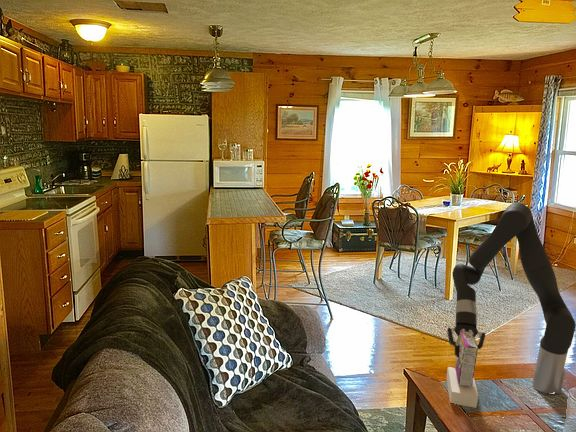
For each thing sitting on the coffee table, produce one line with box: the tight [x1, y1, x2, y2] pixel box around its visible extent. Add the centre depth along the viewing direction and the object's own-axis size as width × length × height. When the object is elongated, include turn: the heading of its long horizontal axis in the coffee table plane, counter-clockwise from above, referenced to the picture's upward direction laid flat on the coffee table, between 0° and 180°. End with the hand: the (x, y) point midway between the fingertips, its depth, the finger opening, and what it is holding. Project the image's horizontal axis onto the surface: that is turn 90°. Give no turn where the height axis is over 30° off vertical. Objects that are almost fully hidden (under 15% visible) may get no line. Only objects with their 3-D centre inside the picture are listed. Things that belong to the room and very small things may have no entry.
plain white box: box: [445, 366, 479, 409], centre depth 177 cm, size 9×16×5 cm, turn 167°
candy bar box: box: [454, 331, 479, 387], centre depth 173 cm, size 11×5×16 cm, turn 168°
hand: (465, 358), depth 174 cm, fingers closed on candy bar box, 5 cm apart
